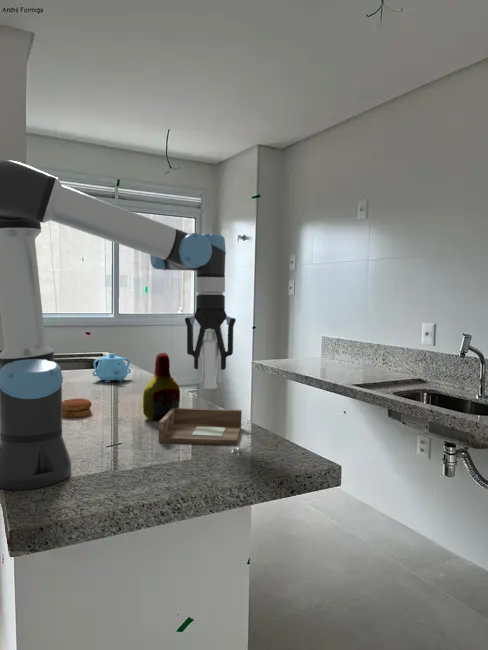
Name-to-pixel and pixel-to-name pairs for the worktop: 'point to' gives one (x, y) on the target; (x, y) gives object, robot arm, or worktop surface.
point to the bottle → (160, 391)
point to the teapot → (111, 368)
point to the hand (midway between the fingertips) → (210, 381)
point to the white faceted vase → (210, 360)
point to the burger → (76, 408)
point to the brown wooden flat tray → (200, 426)
